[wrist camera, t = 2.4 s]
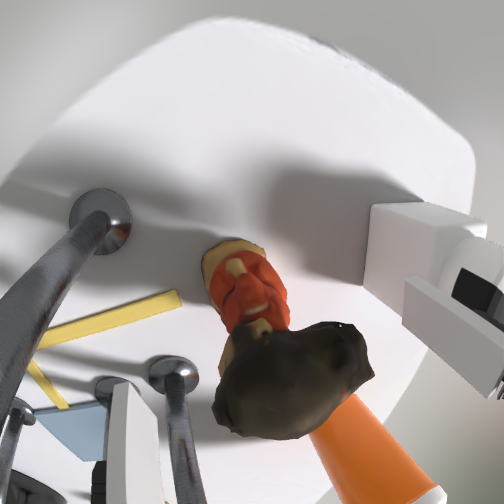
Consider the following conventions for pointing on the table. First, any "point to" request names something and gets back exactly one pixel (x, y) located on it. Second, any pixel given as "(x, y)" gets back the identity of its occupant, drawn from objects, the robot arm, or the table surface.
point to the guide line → (97, 325)
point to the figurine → (275, 351)
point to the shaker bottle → (370, 460)
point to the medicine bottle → (433, 256)
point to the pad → (77, 428)
